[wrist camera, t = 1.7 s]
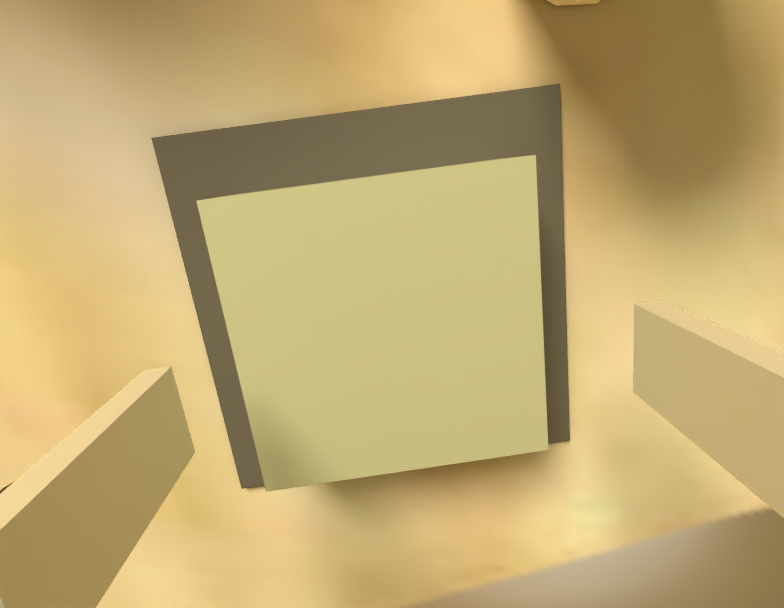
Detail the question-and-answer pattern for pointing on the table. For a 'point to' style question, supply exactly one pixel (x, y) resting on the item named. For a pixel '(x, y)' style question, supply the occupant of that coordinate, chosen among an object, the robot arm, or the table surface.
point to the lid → (385, 319)
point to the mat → (356, 160)
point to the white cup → (572, 2)
